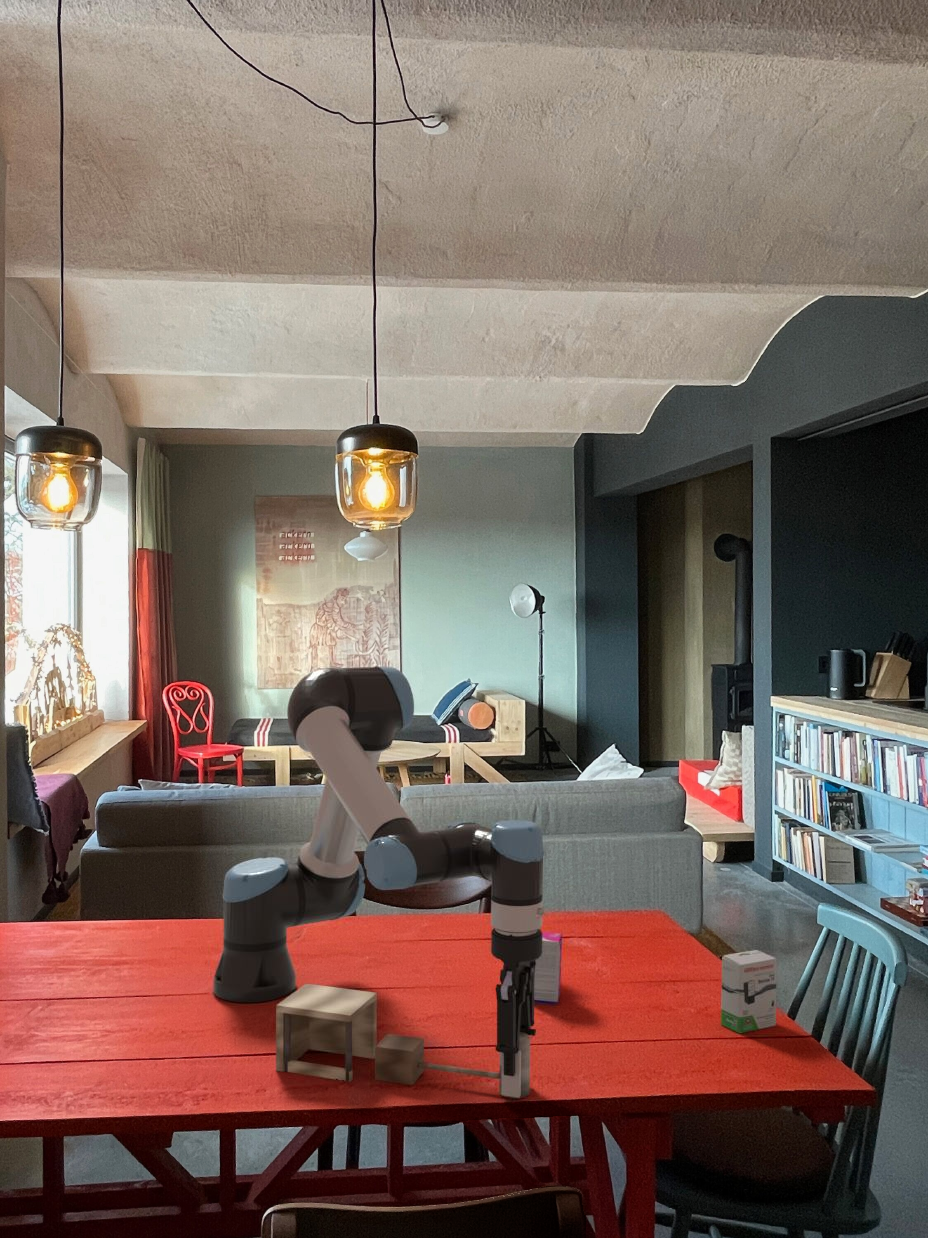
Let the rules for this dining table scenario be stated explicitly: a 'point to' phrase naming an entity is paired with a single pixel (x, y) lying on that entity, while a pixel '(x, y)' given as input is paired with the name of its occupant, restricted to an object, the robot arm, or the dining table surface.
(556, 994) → the supplement box
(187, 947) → the dining table surface
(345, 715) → the robot arm
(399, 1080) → the tethered cylinder
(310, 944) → the dining table surface
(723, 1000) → the ink box
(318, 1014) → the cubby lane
